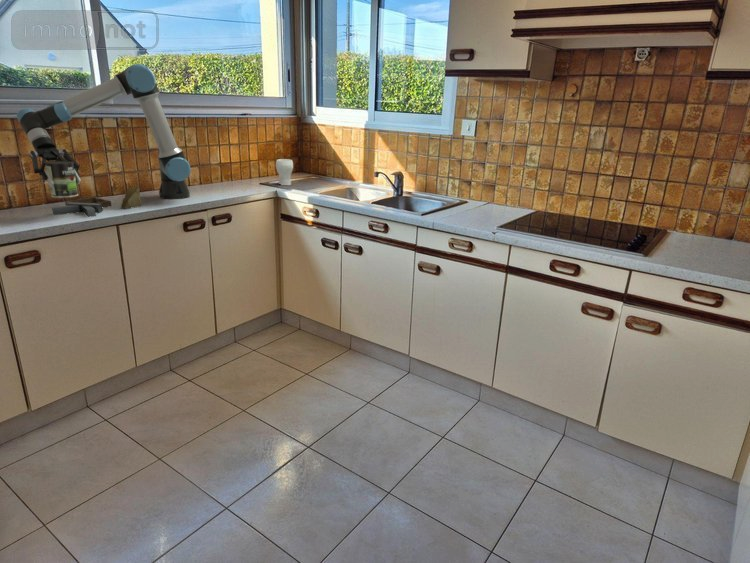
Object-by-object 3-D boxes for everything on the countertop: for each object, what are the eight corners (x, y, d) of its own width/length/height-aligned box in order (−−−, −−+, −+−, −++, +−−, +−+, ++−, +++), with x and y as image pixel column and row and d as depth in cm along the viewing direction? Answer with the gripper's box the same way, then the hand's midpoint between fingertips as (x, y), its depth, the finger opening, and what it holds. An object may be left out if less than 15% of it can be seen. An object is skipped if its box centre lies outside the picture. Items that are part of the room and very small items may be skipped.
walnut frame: (111, 206, 236) (110, 201, 235) (81, 210, 225) (80, 205, 224) (96, 202, 243) (95, 197, 242) (65, 206, 232) (64, 201, 232)
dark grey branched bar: (92, 217, 214) (91, 209, 213) (49, 214, 216) (47, 206, 215) (108, 211, 225) (106, 204, 224) (66, 209, 226) (65, 201, 225)
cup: (292, 186, 306) (291, 161, 301) (274, 185, 306) (274, 160, 301) (294, 183, 316) (294, 159, 311) (278, 182, 316) (277, 158, 311)
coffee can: (84, 194, 215) (79, 161, 210) (66, 198, 206) (60, 164, 201) (63, 193, 217) (58, 160, 212) (44, 197, 207) (38, 162, 203)
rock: (122, 205, 227) (145, 200, 233) (115, 189, 228) (137, 184, 233) (121, 216, 236) (142, 210, 241) (113, 200, 236) (135, 195, 242)
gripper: (67, 146, 222) (91, 186, 219) (9, 149, 204) (34, 192, 201) (71, 135, 217) (95, 175, 214) (12, 136, 200) (38, 180, 197)
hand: (66, 183), depth 208 cm, fingers closed on coffee can, 10 cm apart
